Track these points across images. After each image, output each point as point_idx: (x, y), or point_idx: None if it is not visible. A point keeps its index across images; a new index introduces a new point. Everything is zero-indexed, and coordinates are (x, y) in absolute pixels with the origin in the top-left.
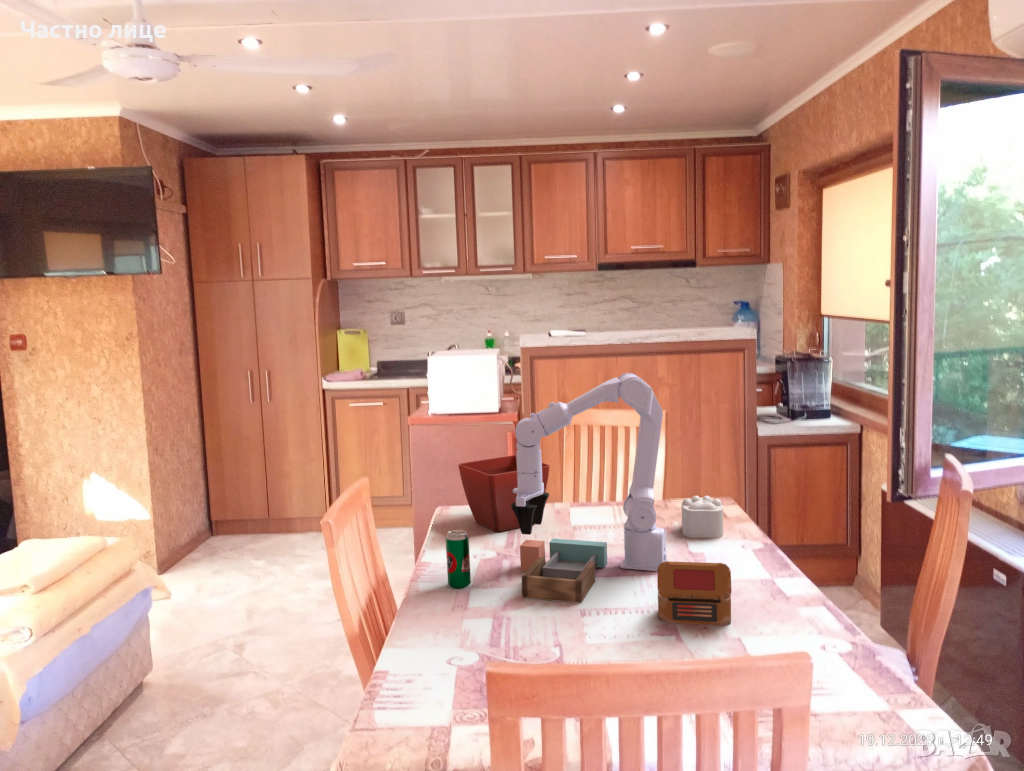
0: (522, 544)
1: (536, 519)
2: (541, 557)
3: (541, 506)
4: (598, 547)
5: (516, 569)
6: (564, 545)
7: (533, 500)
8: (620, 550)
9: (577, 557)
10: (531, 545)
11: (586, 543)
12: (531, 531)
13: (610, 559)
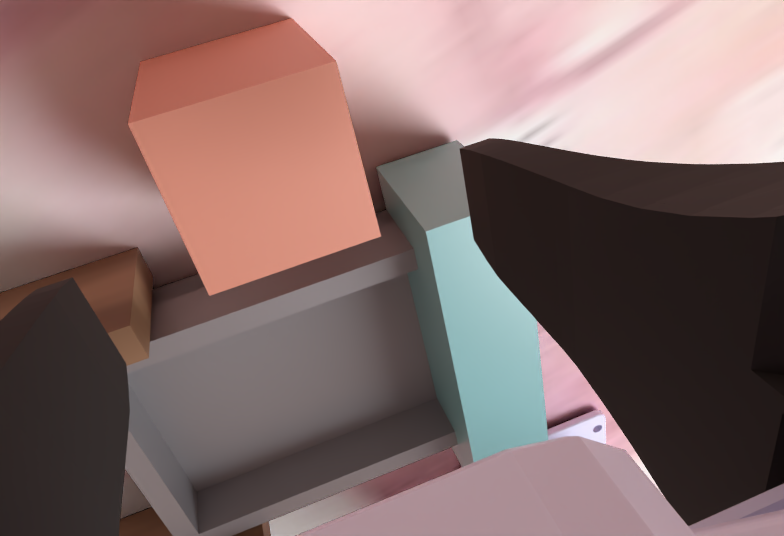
0: (180, 123)
1: (497, 225)
2: (132, 343)
3: (608, 393)
4: None
5: (142, 8)
6: (441, 322)
7: (678, 352)
8: None
9: (429, 343)
10: (212, 216)
11: (497, 425)
12: (122, 393)
13: (558, 369)
